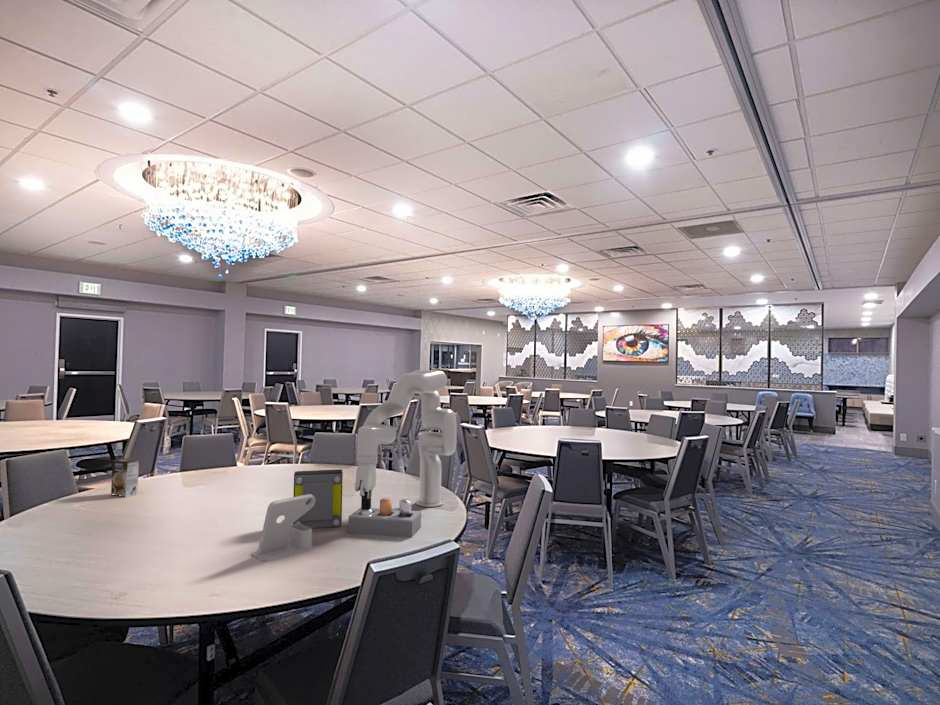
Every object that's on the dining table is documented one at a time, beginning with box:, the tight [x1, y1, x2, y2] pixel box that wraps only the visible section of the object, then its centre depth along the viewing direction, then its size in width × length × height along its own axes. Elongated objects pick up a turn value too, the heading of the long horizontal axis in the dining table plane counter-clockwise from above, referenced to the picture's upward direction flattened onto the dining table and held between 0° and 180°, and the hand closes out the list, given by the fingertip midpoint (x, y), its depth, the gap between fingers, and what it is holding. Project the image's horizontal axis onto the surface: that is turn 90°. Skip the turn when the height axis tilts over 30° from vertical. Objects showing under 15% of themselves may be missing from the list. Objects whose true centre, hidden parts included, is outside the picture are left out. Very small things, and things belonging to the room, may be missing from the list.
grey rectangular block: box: [348, 507, 422, 538], centre depth 194 cm, size 12×24×6 cm, turn 80°
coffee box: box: [110, 458, 140, 497], centre depth 240 cm, size 9×6×16 cm
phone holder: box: [251, 494, 316, 563], centre depth 171 cm, size 17×10×18 cm, turn 140°
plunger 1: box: [360, 509, 373, 515], centre depth 196 cm, size 4×4×5 cm
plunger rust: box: [379, 497, 393, 515], centre depth 194 cm, size 4×4×5 cm
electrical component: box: [292, 468, 343, 529], centre depth 199 cm, size 18×10×20 cm, turn 105°
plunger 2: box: [398, 498, 412, 517], centre depth 193 cm, size 4×4×5 cm
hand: (366, 508), depth 195 cm, fingers closed
